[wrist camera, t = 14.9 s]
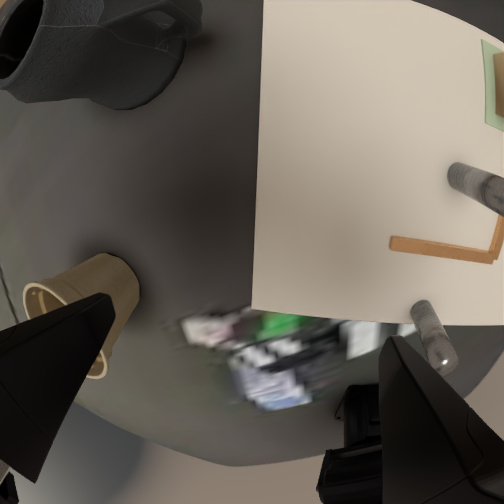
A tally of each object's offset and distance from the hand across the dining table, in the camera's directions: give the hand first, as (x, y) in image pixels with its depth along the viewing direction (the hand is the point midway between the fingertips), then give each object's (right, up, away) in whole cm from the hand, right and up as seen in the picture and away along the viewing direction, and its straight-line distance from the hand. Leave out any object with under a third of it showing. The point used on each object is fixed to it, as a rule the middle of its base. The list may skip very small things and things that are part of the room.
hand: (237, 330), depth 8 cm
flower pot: (-13, 0, +17) cm, 21 cm away
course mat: (+14, +8, +7) cm, 18 cm away
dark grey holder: (-7, +17, +7) cm, 20 cm away
